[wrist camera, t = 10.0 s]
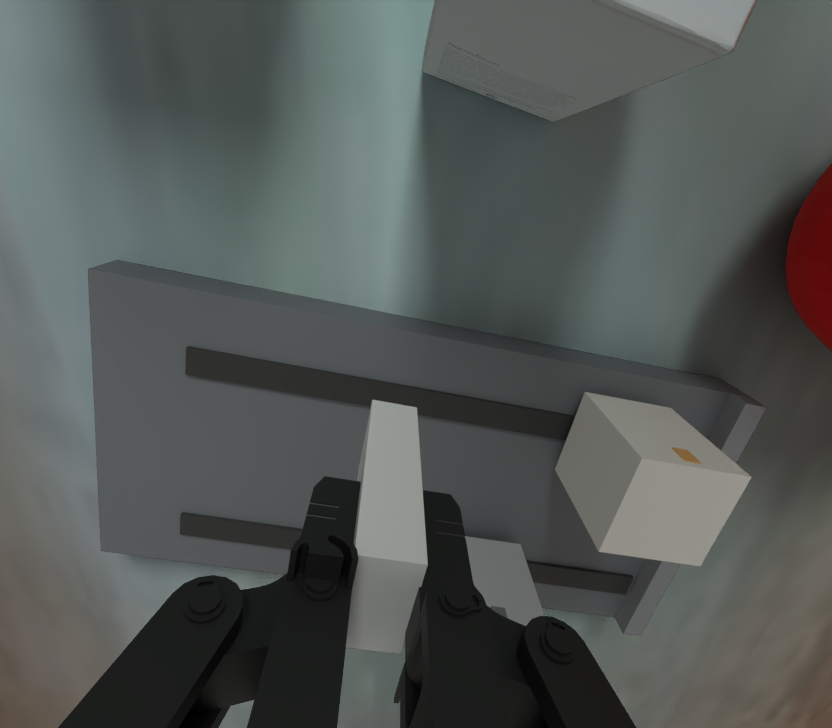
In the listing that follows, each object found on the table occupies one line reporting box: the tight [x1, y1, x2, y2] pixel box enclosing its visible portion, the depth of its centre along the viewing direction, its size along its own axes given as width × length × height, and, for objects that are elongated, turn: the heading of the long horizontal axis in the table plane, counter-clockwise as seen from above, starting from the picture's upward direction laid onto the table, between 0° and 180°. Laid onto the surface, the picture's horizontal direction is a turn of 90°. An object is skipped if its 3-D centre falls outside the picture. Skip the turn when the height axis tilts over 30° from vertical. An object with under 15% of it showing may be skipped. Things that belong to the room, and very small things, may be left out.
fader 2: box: [555, 392, 752, 566], centre depth 18 cm, size 4×4×5 cm
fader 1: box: [465, 536, 544, 626], centre depth 21 cm, size 4×4×5 cm
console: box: [88, 260, 767, 636], centre depth 22 cm, size 14×28×3 cm, turn 78°
